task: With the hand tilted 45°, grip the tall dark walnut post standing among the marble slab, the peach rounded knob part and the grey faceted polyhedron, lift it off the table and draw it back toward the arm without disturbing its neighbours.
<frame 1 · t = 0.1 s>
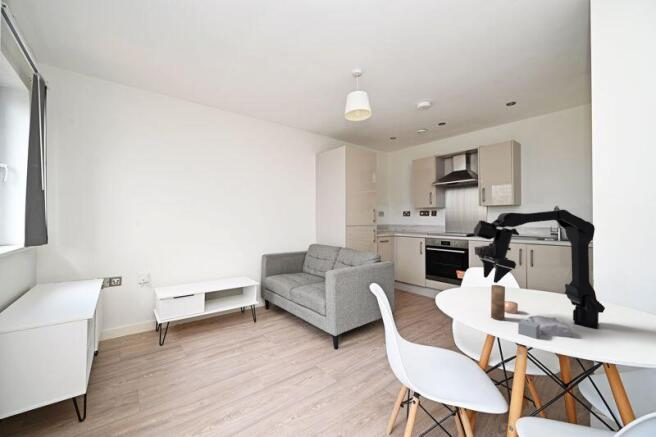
hand: (489, 279, 107), 15 cm above the table, tool pointing down, fingers open, 9 cm apart
stone block: (546, 330, 97), on the table
peach rounded knob part: (510, 312, 114), on the table
walnut post: (497, 318, 107), on the table
grey faceted polyhedron: (528, 334, 92), on the table
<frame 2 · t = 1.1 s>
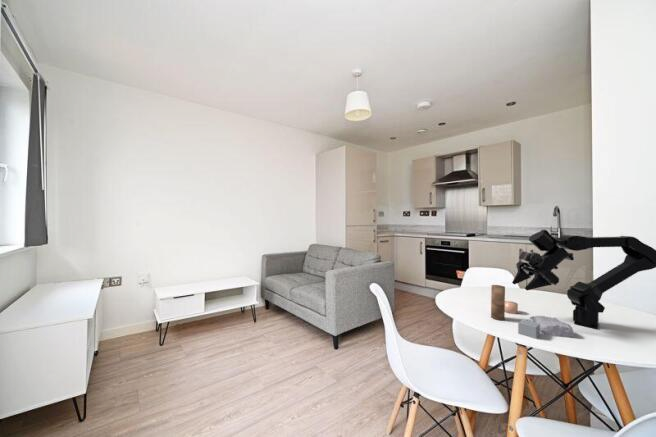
hand: (519, 286, 105), 13 cm above the table, tool tilted 45°, fingers open, 9 cm apart
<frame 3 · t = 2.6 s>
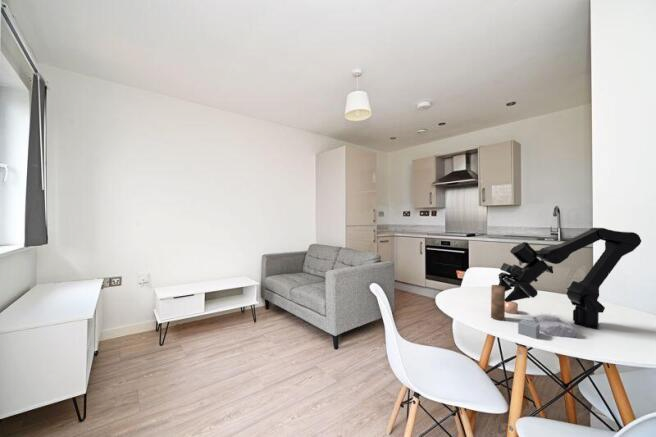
hand: (499, 297, 107), 8 cm above the table, tool tilted 45°, fingers open, 9 cm apart
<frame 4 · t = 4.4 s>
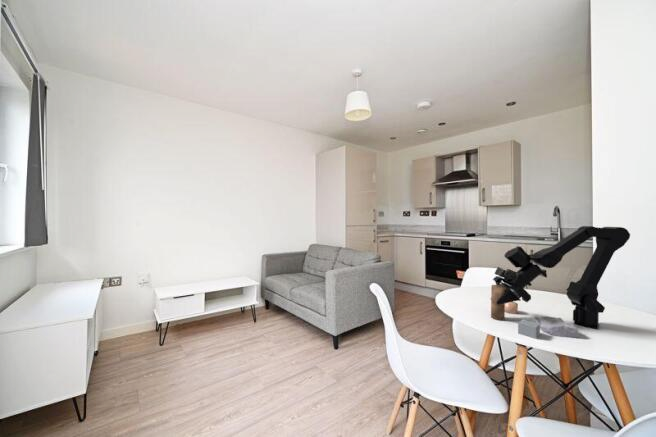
hand: (494, 301, 107), 7 cm above the table, tool tilted 45°, fingers closed on walnut post, 5 cm apart
walnut post: (497, 318, 107), on the table, touching gripper
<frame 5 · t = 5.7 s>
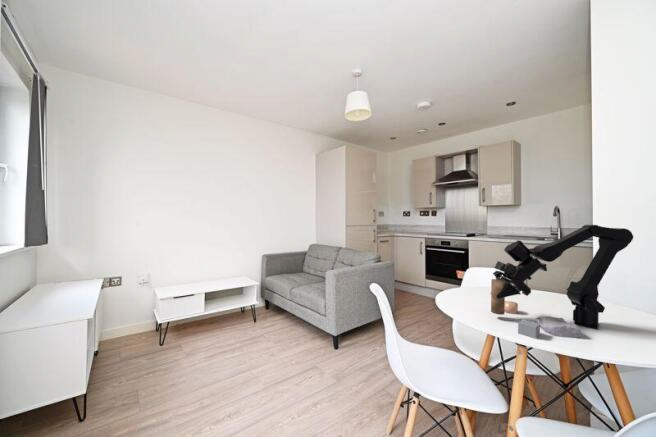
hand: (494, 296, 107), 9 cm above the table, tool tilted 45°, fingers closed on walnut post, 5 cm apart
walnut post: (497, 312, 107), point 2 cm above the table, touching gripper
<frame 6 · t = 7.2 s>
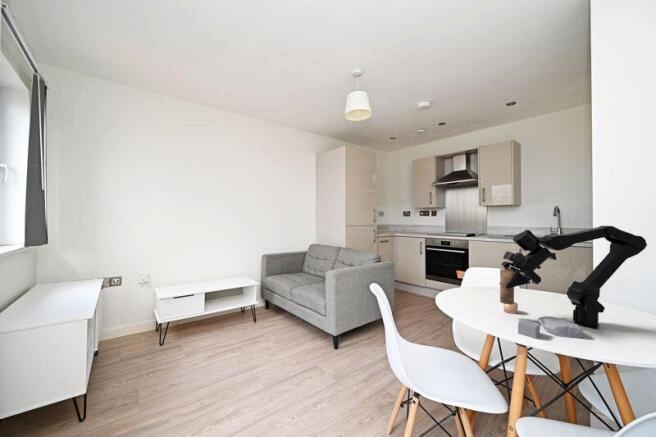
hand: (503, 286, 106), 13 cm above the table, tool tilted 45°, fingers closed on walnut post, 5 cm apart
walnut post: (506, 302, 106), point 7 cm above the table, touching gripper
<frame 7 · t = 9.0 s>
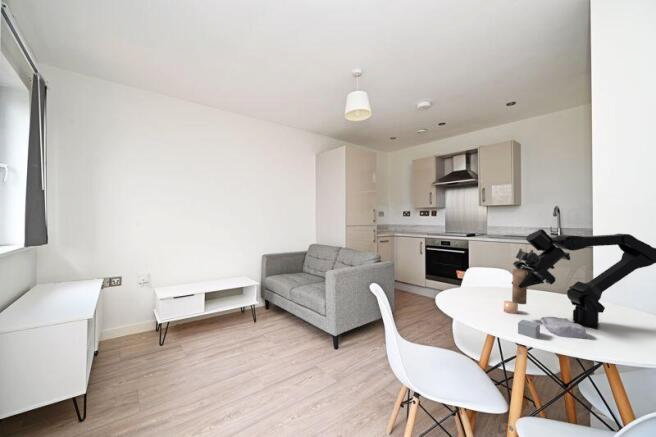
hand: (515, 285, 106), 14 cm above the table, tool tilted 45°, fingers closed on walnut post, 5 cm apart
walnut post: (519, 302, 105), point 7 cm above the table, touching gripper
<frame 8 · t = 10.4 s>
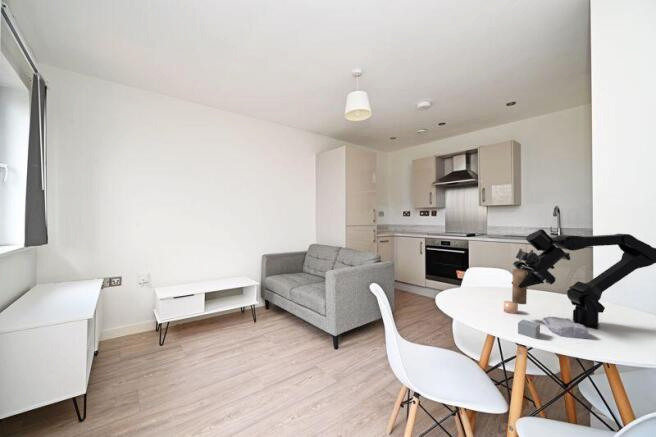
hand: (515, 285, 106), 14 cm above the table, tool tilted 45°, fingers closed on walnut post, 5 cm apart
walnut post: (519, 302, 105), point 7 cm above the table, touching gripper
at the end: the gripper is holding walnut post; walnut post point 7.0 cm above the table; peach rounded knob part moved 0.1 cm from its start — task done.
